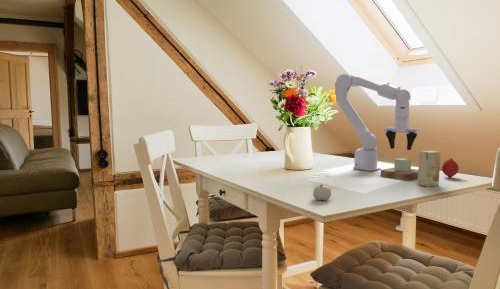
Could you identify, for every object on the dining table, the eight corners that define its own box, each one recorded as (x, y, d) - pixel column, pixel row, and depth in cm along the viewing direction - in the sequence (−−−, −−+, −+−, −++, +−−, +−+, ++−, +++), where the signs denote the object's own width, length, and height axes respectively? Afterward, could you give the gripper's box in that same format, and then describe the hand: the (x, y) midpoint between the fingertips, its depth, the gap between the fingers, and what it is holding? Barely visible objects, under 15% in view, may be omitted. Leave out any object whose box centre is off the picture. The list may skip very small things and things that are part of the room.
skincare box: (427, 187, 138) (429, 152, 136) (417, 184, 141) (418, 151, 140) (439, 185, 141) (441, 151, 139) (429, 183, 144) (430, 150, 143)
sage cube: (394, 170, 158) (394, 159, 157) (400, 168, 161) (400, 158, 160) (404, 171, 154) (405, 160, 154) (410, 170, 157) (411, 159, 157)
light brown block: (380, 176, 159) (380, 169, 158) (397, 172, 166) (397, 166, 166) (408, 180, 149) (408, 174, 149) (424, 176, 157) (425, 170, 156)
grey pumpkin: (321, 203, 116) (321, 186, 116) (308, 199, 121) (308, 183, 120) (335, 200, 120) (335, 183, 119) (322, 197, 124) (322, 180, 124)
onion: (441, 178, 153) (442, 158, 153) (441, 175, 159) (442, 156, 158) (458, 179, 151) (459, 158, 150) (458, 177, 156) (459, 157, 155)
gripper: (381, 117, 171) (380, 148, 173) (413, 118, 161) (412, 151, 162) (389, 117, 176) (388, 147, 177) (421, 117, 165) (420, 150, 167)
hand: (400, 149), depth 170 cm, fingers open, 7 cm apart
